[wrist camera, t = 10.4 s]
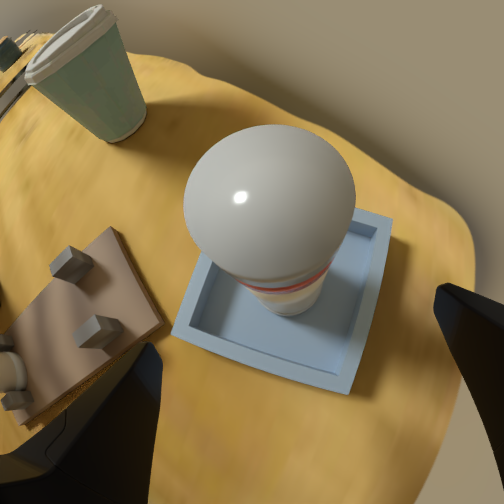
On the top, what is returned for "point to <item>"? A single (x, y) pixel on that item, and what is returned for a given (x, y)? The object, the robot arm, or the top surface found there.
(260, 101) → the top surface
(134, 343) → the clip rack
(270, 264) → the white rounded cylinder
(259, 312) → the tray
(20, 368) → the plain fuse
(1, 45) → the canister
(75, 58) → the disposable coffee cup
